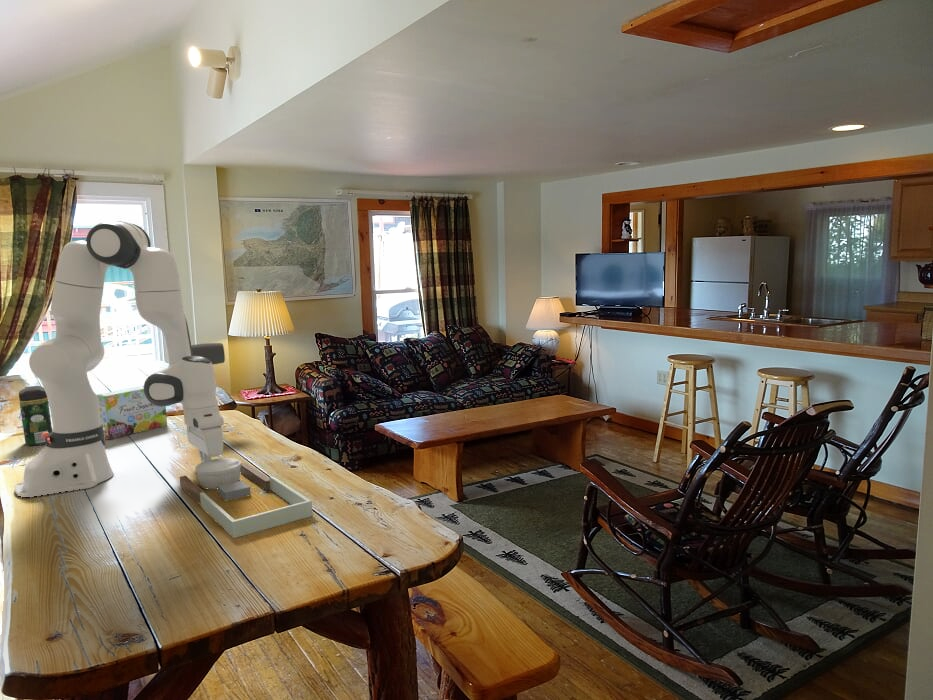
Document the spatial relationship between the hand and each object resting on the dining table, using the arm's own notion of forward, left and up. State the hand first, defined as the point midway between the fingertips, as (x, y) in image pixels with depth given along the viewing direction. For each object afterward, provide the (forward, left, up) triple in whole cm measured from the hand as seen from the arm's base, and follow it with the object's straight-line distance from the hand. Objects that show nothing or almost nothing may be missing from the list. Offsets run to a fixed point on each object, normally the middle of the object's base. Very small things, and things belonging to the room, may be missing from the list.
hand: (206, 465), depth 181 cm
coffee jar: (-33, +71, -2) cm, 78 cm away
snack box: (-5, +63, -2) cm, 63 cm away
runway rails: (0, -16, -2) cm, 17 cm away
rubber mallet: (+15, +45, -2) cm, 47 cm away
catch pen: (0, -37, -2) cm, 37 cm away
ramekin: (0, -12, -2) cm, 12 cm away
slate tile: (0, -23, -2) cm, 23 cm away
